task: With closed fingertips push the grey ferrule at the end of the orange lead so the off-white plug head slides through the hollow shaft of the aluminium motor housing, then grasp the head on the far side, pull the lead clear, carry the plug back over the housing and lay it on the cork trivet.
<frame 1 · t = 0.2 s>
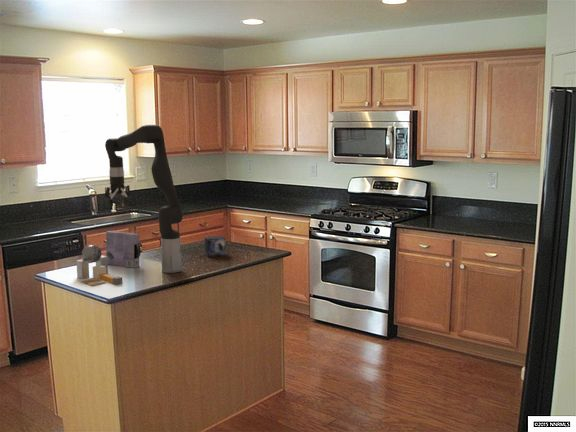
hand: (118, 205, 322), 29 cm above the worktop, fingers open, 8 cm apart
housing: (92, 275, 289), on the worktop
cake pan box: (123, 265, 308), on the worktop
small box: (215, 255, 331), on the worktop
trivet: (93, 282, 277), on the worktop
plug: (99, 277, 286), on the worktop
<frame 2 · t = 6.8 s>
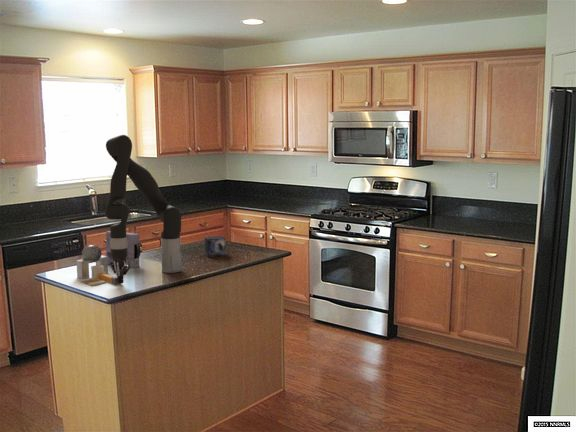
hand: (120, 283, 274), 1 cm above the worktop, fingers closed
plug: (98, 277, 286), on the worktop, touching gripper
everything else where it was.
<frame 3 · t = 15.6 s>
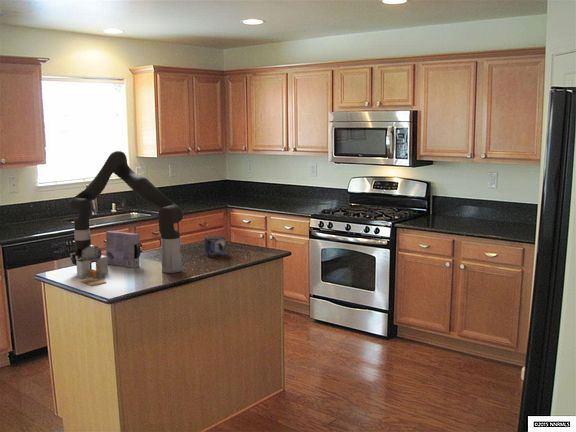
hand: (84, 271, 294), 1 cm above the worktop, fingers closed on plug, 4 cm apart
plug: (84, 272, 295), on the worktop, touching gripper
everything else where it was.
when the fingers open (2 cm above the worktop, at t = 26.0 s): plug stays where it is, resting on trivet.
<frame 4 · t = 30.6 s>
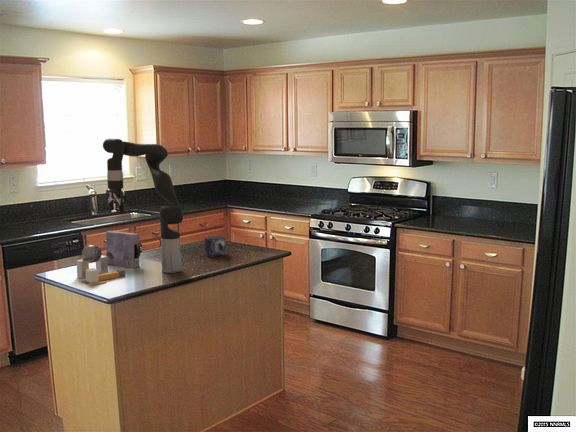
hand: (116, 211, 295), 30 cm above the worktop, fingers open, 8 cm apart
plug: (92, 281, 277), point 1 cm above the worktop, touching trivet
everything else where it was.
at the end: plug inside the target area on the trivet (0.8 cm from its centre), point 0.8 cm above the trivet's base; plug touching worktop, trivet; the gripper is holding nothing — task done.
